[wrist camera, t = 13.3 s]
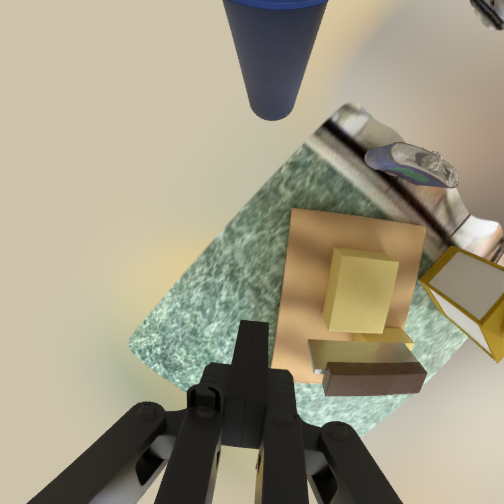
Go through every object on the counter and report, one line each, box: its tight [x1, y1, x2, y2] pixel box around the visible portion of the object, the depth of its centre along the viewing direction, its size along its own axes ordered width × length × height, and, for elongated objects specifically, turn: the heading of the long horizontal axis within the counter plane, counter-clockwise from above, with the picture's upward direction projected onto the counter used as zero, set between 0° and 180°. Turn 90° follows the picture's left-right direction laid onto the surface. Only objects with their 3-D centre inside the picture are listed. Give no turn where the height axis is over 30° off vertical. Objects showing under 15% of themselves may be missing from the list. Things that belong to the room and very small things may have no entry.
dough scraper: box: [307, 339, 427, 396], centre depth 28 cm, size 2×12×8 cm, turn 85°
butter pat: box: [354, 328, 414, 351], centre depth 36 cm, size 3×7×4 cm, turn 85°
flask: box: [365, 142, 459, 188], centre depth 29 cm, size 9×3×11 cm, turn 75°
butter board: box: [270, 208, 426, 384], centre depth 38 cm, size 24×18×2 cm
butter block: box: [322, 247, 399, 334], centre depth 35 cm, size 9×7×4 cm
